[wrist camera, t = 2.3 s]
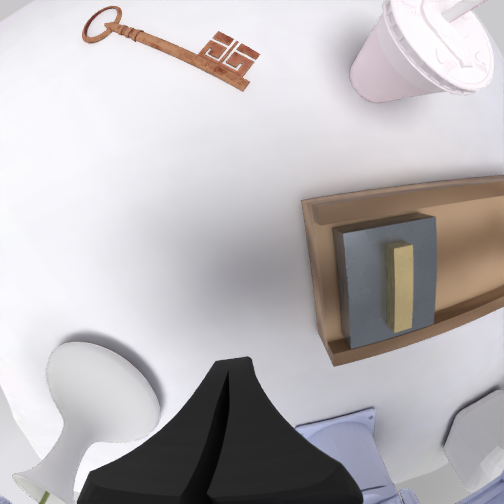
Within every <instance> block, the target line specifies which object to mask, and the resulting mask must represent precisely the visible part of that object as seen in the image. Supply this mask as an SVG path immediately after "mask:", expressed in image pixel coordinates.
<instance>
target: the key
mask: <svg viewBox="0 0 504 504" xmlns="http://www.w3.org/2000/svg"><path fill="white" fill-rule="evenodd" d="M112 8H113V9H116V10H117V12H118V13H117V17H116V19H115V21H114V22H111V23H105V24H104V25H105V26H106V28H107V30H106V31H104V32H103V33H102V34H100V35H98V36H96V37H87V36H86V33H87V29H88V27H89V25H90V23H91V22H92V20H93V19H94V18H95V17H96V16H97V15H98V14H100V13H101V12H103V11H105V10H107V9H112ZM121 17H122V11H121V9H120V8H119V7H117V6H109V7H106V8H104V9H102V10H100V11H98V12H97V13H96V14H94V15H93V16H92V17H91V18H90V19H89V20H88V22H87V23H86V25H85V26H84V29H83V32H82V38H83V40H84V41H85V42H88V43H93V42H97V41H99V40H101V39H103V38H105V37H106V36H108V35H109V34H110V33H111V32H112V31H113V32H116V33H118V34H119V35H124V36H125V37H127V38H129V37H130V38H131V39H132V40H133V41H135V42H136V41H138V42H141V43H143V44H146V45H148V46H151V47H153V48H155V49H158V50H160V51H163V52H165V53H167V54H169V55H172V56H174V57H176V58H178V59H180V60H183V61H185V62H187V63H189V64H191V65H193V66H195V67H197V68H199V69H201V70H203V71H205V72H207V73H209V74H211V75H213V76H215V77H217V78H219V79H221V80H223V81H225V82H226V83H228V84H230V85H232V86H234V87H236V88H237V89H239V90H241V91H244V89H245V88H246V87H247V85H248V84H249V83H250V82H249V81H248V80H246V79H244V78H242V77H243V76H244V75H245V73H246V72H247V71H248V69H249V68H250V67H251V65H252V64H253V63H254V61H252V60H250V59H248V58H246V57H244V56H242V55H240V54H238V53H236V52H234V53H233V54H232V55H231V56H230V58H229V59H228V60H227V61H226V63H227V64H229V65H231V66H233V67H235V68H236V67H237V66H238V65H239V63H241V64H242V65H241V67H240V68H239V69H238V71H236V70H234V69H232V68H230V67H228V66H226V65H224V64H222V62H223V61H224V60H225V58H226V57H227V56H228V55H229V53H230V52H231V51H232V50H233V48H234V47H235V46H236V45H237V44H238V41H236V42H235V43H234V45H233V46H232V47H231V48H230V49H229V50H228V51H227V53H226V54H225V55H224V56H223V57H222V59H221V60H220V61H217V60H215V59H213V58H211V57H209V56H207V55H205V53H206V52H207V51H208V49H209V48H211V50H210V52H209V53H208V54H209V55H211V56H213V57H215V58H217V59H219V57H220V56H221V55H222V54H223V52H224V51H225V50H226V49H227V48H226V47H224V46H222V45H220V44H218V43H216V42H214V41H212V40H210V41H209V42H208V43H207V44H206V46H205V47H204V48H203V49H202V50H201V51H200V53H199V54H198V55H197V54H195V53H193V52H190V51H188V50H186V49H184V48H181V47H179V46H177V45H174V44H172V43H170V42H167V41H165V40H163V39H160V38H158V37H155V36H152V35H150V34H147V33H145V32H144V31H143V30H135V29H134V28H131V27H130V28H129V27H128V26H125V25H120V24H119V22H120V20H121ZM213 39H215V40H217V41H219V42H222V43H224V44H226V45H228V46H229V45H230V44H231V42H232V41H233V40H234V39H233V38H231V37H229V36H227V35H225V34H223V33H221V32H219V31H218V32H217V33H216V34H215V36H214V37H213ZM236 50H238V51H240V52H242V53H244V54H246V55H248V56H250V57H252V58H253V59H255V60H256V59H257V58H258V57H259V55H260V54H259V53H257V52H256V51H254V50H252V49H251V48H249V47H247V46H245V45H244V44H242V43H241V45H240V46H239V47H238V48H237V49H236Z"/></svg>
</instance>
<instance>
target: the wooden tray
mask: <svg viewBox="0 0 504 504" xmlns="http://www.w3.org/2000/svg"><path fill="white" fill-rule="evenodd" d="M301 202H302V208H303V214H304V221H305V227H306V234H307V241H308V248H309V255H310V263H311V271H312V278H313V287H314V295H315V304H316V313H317V322H318V332H319V335H320V337H321V340H322V342H323V344H324V346H325V348H326V351H327V353H328V355H329V357H330V360H331V362H332V364H333V366H334V367H335V366H339V365H343V364H347V363H350V362H354V361H358V360H362V359H365V358H369V357H372V356H376V355H379V354H383V353H386V352H389V351H392V350H396V349H399V348H402V347H405V346H408V345H411V344H414V343H417V342H420V341H422V340H425V339H428V338H431V337H433V336H436V335H439V334H441V333H444V332H447V331H449V330H452V329H454V328H457V327H459V326H462V325H464V324H466V323H469V322H471V321H473V320H476V319H478V318H480V317H482V316H485V315H487V314H489V313H491V312H493V311H495V310H497V309H500V308H502V307H504V175H500V176H487V177H476V178H465V179H455V180H445V181H436V182H427V183H419V184H410V185H402V186H395V187H387V188H379V189H372V190H365V191H358V192H351V193H344V194H338V195H331V196H325V197H318V198H312V199H306V200H301ZM418 212H419V213H423V214H427V215H431V216H435V217H436V229H437V282H436V301H435V314H434V324H432V325H429V326H427V327H424V328H421V329H418V330H415V331H412V332H409V333H405V334H402V335H399V336H396V337H393V338H389V339H386V340H382V341H379V342H375V343H372V344H368V345H365V346H361V347H357V348H353V349H351V348H350V347H349V345H348V343H347V341H346V340H345V338H344V336H343V335H342V330H341V314H340V300H339V288H338V277H337V266H336V257H335V248H334V239H333V231H332V227H337V226H343V225H349V224H354V223H360V222H366V221H371V220H377V219H383V218H389V217H395V216H400V215H406V214H412V213H418Z"/></svg>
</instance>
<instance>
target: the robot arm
mask: <svg viewBox="0 0 504 504" xmlns="http://www.w3.org/2000/svg"><path fill="white" fill-rule="evenodd" d="M375 416H376V411H375V409H373V408H371V409H368V410H364V411H361V412H357V413H354V414H350V415H347V416H343V417H339V418H335V419H331V420H327V421H322V422H318V423H313V424H309V425H304V426H299V427H297V428H295V429H294V428H293V427H292V426H291V425H290V424H289V423H288V422H287V421H286V420H285V419H284V418H283V416H282V415H281V414H280V413H279V412H278V411H277V409H276V408H275V407H274V405H273V404H272V403H271V401H270V400H269V398H268V397H267V395H266V394H265V392H264V391H263V389H262V387H261V385H260V383H259V382H258V380H257V378H256V375H255V371H254V367H253V363H252V359H251V358H250V357H248V356H247V357H241V358H234V359H227V360H219V361H215V363H214V364H213V365H212V367H211V369H210V370H209V372H208V373H207V375H206V376H205V378H204V379H203V381H202V382H201V384H200V385H199V387H198V388H197V389H196V391H195V392H194V394H193V395H192V396H191V398H190V399H189V400H188V401H187V403H186V404H185V405H184V406H183V407H182V409H181V410H180V411H179V412H178V413H177V414H176V415H175V416H174V418H173V419H172V420H171V421H169V422H168V423H167V424H166V425H165V426H164V427H163V428H162V429H161V430H160V431H158V432H157V433H156V434H155V435H153V436H152V437H151V438H149V439H148V440H147V441H146V442H144V443H143V444H142V445H140V446H139V447H137V448H136V449H134V450H132V451H131V452H129V453H128V454H126V455H124V456H122V457H121V458H119V459H117V460H115V461H113V462H111V463H109V464H106V465H104V466H102V467H100V468H98V469H95V470H93V471H90V473H89V475H88V477H87V479H86V481H85V484H84V486H83V488H82V491H81V493H80V496H79V498H78V500H77V504H402V502H401V500H400V497H399V495H398V492H397V490H396V488H395V485H394V483H392V481H391V478H390V476H389V474H388V471H387V469H386V467H385V465H384V462H383V460H382V458H381V455H380V453H379V451H378V449H377V446H376V444H375V442H374V440H373V432H374V424H375ZM400 494H401V496H402V501H403V503H404V504H420V502H419V500H418V498H417V496H416V494H415V493H414V491H413V490H410V489H406V488H403V489H401V490H400ZM0 504H12V503H11V502H10V501H8V500H7V499H6V498H4V497H2V496H1V495H0ZM455 504H504V470H503V471H502V473H501V475H500V476H498V477H497V478H495V479H494V480H492V481H491V482H490V483H488V484H487V485H485V486H484V487H482V488H480V489H479V490H477V491H476V492H474V493H473V494H471V495H469V496H468V497H466V498H464V499H462V500H461V501H459V502H457V503H455Z"/></svg>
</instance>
